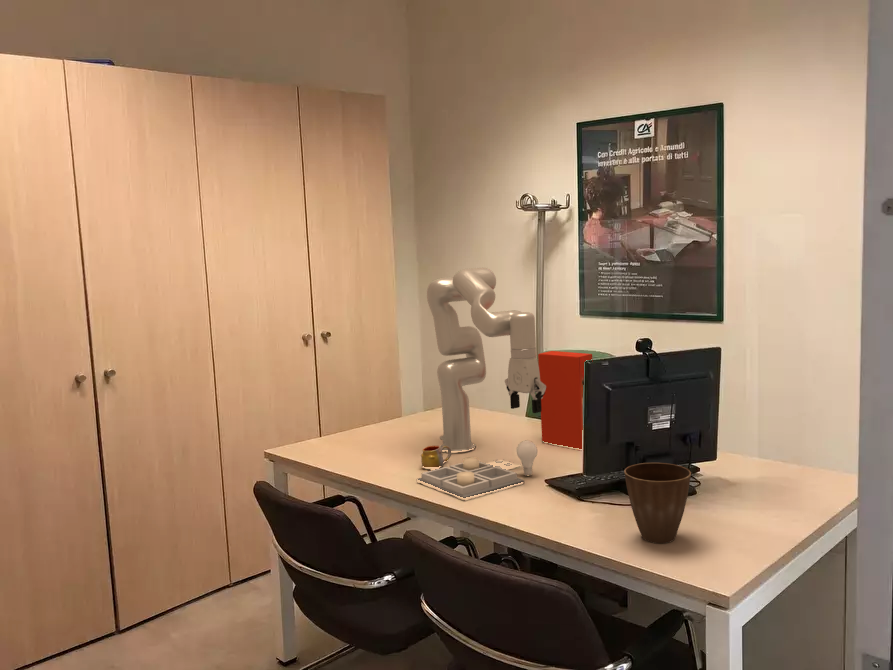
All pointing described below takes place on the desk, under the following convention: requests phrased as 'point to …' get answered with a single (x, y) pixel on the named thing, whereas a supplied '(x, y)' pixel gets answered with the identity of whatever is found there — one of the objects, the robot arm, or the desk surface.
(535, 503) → the desk surface
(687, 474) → the plant pot
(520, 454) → the lightbulb
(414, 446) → the desk surface
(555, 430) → the file binder
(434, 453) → the mug
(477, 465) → the compartment tray
